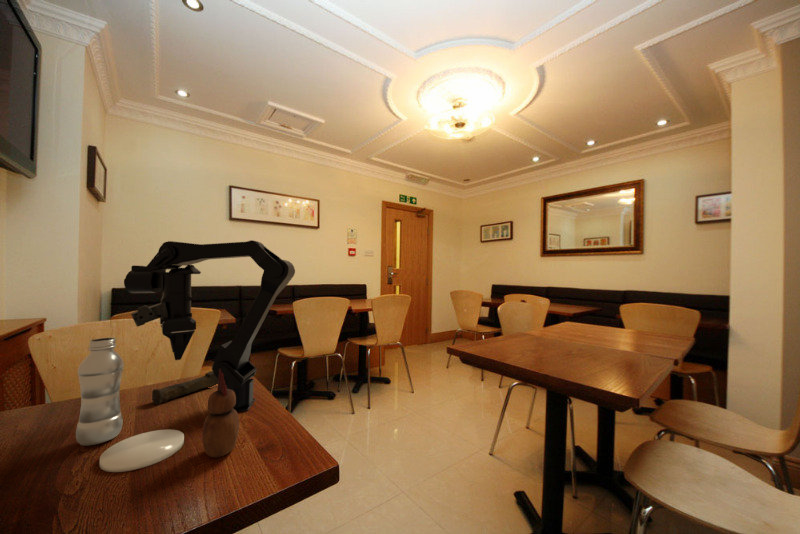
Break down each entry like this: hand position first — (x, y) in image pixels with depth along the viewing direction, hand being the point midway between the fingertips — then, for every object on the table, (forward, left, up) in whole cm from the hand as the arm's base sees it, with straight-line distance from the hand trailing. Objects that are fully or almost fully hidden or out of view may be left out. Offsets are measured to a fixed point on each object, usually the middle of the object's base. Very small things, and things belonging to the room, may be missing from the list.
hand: (176, 355), depth 75 cm
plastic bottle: (+6, +14, -13) cm, 20 cm away
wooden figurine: (-19, +21, -13) cm, 31 cm away
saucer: (-5, +19, -13) cm, 23 cm away
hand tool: (+1, -11, -13) cm, 17 cm away
